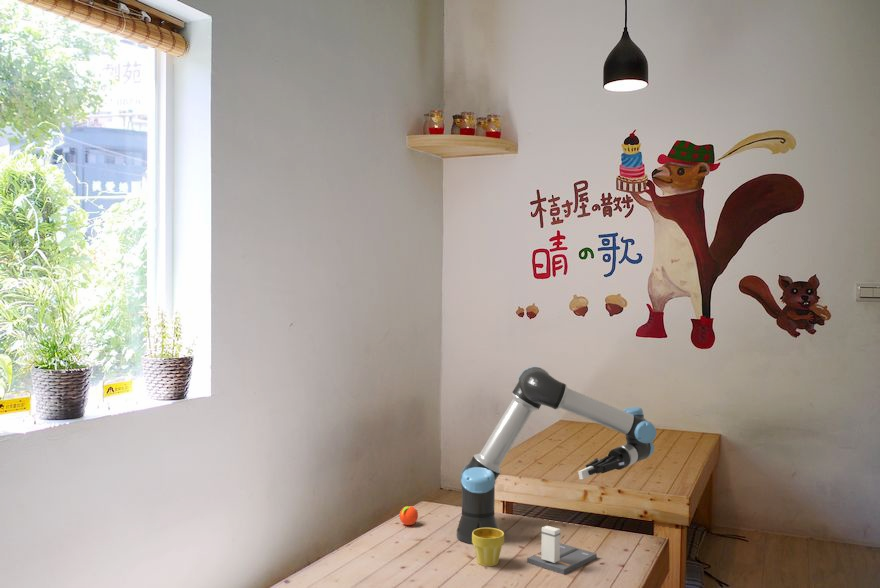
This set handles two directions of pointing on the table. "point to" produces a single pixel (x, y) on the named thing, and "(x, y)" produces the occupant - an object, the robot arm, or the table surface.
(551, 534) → the cap
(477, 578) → the table surface
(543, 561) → the fader board
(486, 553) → the plant pot
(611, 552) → the table surface
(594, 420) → the robot arm
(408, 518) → the clementine
